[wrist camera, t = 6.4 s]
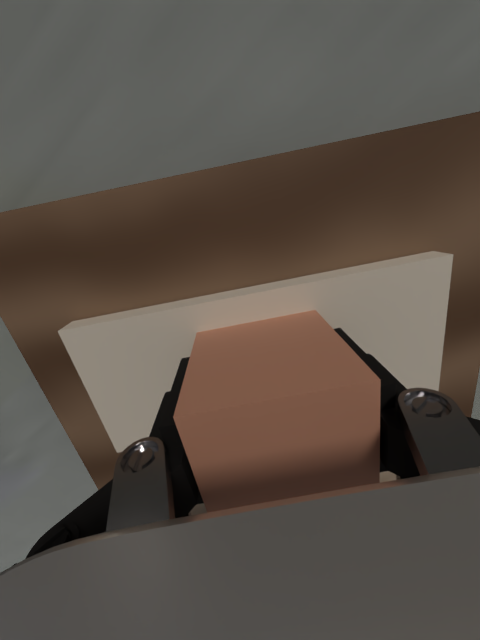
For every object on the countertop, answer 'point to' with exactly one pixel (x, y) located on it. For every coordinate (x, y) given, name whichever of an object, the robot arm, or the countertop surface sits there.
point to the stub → (271, 374)
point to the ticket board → (243, 248)
